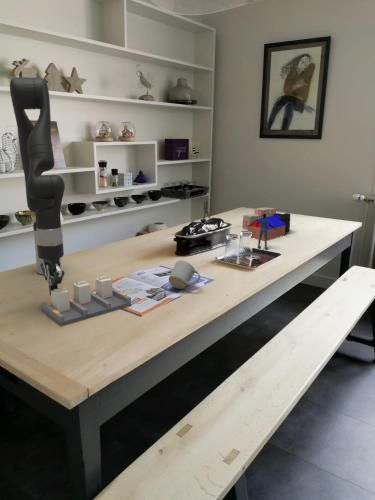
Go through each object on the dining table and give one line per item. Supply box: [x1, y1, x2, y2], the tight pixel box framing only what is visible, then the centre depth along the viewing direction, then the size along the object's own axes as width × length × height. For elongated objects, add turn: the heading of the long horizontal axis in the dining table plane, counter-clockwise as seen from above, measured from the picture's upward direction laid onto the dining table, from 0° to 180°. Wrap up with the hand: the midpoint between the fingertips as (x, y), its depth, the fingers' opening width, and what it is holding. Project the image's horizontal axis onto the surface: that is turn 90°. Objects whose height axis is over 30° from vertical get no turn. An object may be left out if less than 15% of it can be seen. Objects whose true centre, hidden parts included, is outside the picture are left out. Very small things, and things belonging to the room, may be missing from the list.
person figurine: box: [256, 214, 276, 251], centre depth 202 cm, size 11×4×18 cm, turn 52°
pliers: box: [202, 197, 211, 220], centre depth 238 cm, size 10×1×20 cm, turn 144°
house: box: [247, 215, 286, 242], centre depth 228 cm, size 12×20×12 cm, turn 135°
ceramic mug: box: [168, 260, 201, 290], centre depth 149 cm, size 11×8×8 cm
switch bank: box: [40, 287, 132, 327], centre depth 132 cm, size 14×24×3 cm, turn 131°
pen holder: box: [274, 212, 291, 234], centre depth 236 cm, size 9×9×10 cm
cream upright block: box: [50, 286, 70, 312], centre depth 127 cm, size 4×4×7 cm
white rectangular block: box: [94, 275, 113, 299], centre depth 139 cm, size 4×4×7 cm
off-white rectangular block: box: [72, 280, 92, 305], centre depth 133 cm, size 4×4×7 cm
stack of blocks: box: [241, 206, 277, 231], centre depth 249 cm, size 21×6×12 cm, turn 125°
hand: (54, 295), depth 130 cm, fingers closed
